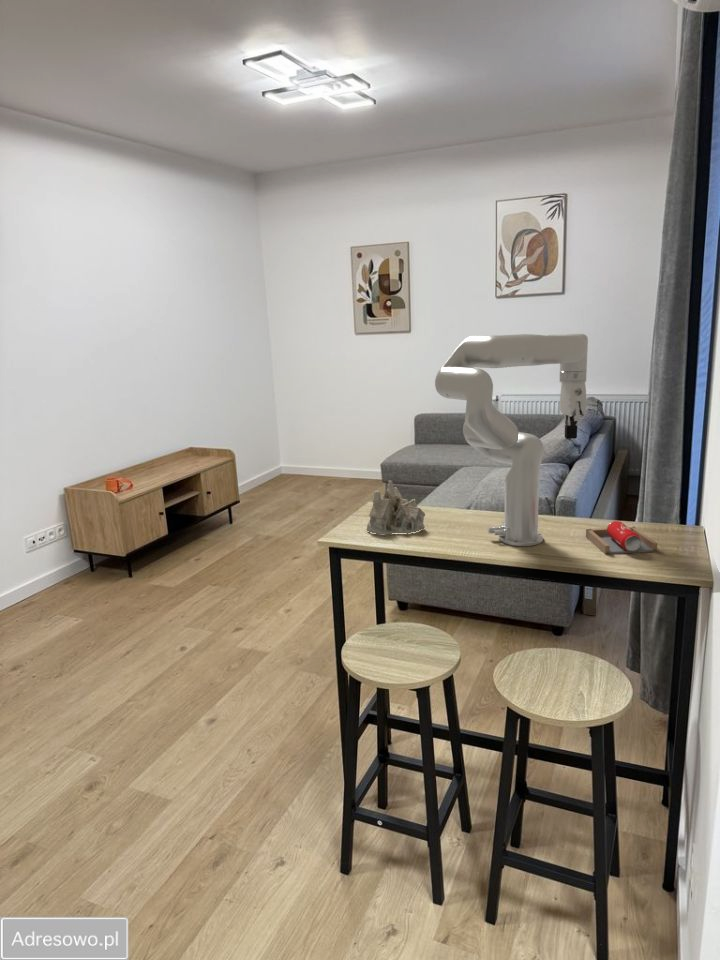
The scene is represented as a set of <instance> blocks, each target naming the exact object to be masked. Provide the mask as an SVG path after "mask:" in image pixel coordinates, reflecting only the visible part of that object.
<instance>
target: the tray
mask: <svg viewBox="0 0 720 960" xmlns="http://www.w3.org/2000/svg"><path fill="white" fill-rule="evenodd" d="M627 527H628V528H630V529H631V530H632V531H633V532H635V533H636V534H637V535H638V536H639V537H640V539H641V546H640V547H639V549H637V550H636V551H627V550H625V549H624V548H623V547H621V546H620V545H619V544H618V543H617V542H616V541H615V540H613V539H612V538H611V537H610V536H609V535H608V533H607V527H605V528H603V527H602V528H587V529H585V538H586V539H587V540H588V541H590V542H591V544H593V545H594V546H595V548H596V547H597V549H598V550H599V551H601V552H602V553H603V554H604V555H616V554H617V555H618V554H619V555H620V554H634V553H636V554H637V553H649V552H650V553H651V552H652V553H653V552H657V549H658V543H657V542H656V541H655V540H654V539H652V538H651V537H650V536H648V535H647V534H645V533H644V532H643V531H641V530H640V529H638V528H637V527H635V526H627Z"/></svg>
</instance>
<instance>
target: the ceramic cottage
mask: <svg viewBox="0 0 720 960" xmlns="http://www.w3.org/2000/svg"><path fill="white" fill-rule="evenodd" d="M387 482H388V483H387V485H386V486H387V487H386V488H387V489H385V490H386V491H385V492H384V494H383V496H381V495H382V494H381V492H380V490H375V491H374V492H373V493H374V494H373V499H372V506H371V510H370V513H369V514H368V516H369V522H368V523H367V525H366V530H367V531H369V532H372V533H376V534H392V533H411V532H416V531H419V530H421V529H424V528H425V524H424V519H425V516H426V512H424V511H423V510H422V509H421V507H418V505H417V503H416V502H417V501H416V498H412V499H411V500H410V501H409V499H406V498H403V496H402V494H401V492H400V491H399V488H398V487H397V486H395V487H394V483H393V480H388V481H387ZM425 529H426V528H425ZM367 531H366V532H367Z"/></svg>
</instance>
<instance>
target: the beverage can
mask: <svg viewBox="0 0 720 960" xmlns="http://www.w3.org/2000/svg"><path fill="white" fill-rule="evenodd" d="M628 527H629V526H627V525H626V524H625V523H623V522H622V521H619V520H614V521H611V522H609V524H608V525H607V527H606V528H607V533H608V535H609V536H610V537H611V538H612V539H613V540H615V541H616V542H617V543H618V544H619V545H620V546H621V547H623V548H624V549H625V550H627V551H636V550H637V549H639V547H640V546H641V539H640V537H639V536H638V535H637V534H636V533H635V532H633V531H632V530H631V529H630V528H628Z"/></svg>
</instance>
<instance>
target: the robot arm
mask: <svg viewBox="0 0 720 960" xmlns="http://www.w3.org/2000/svg"><path fill="white" fill-rule="evenodd" d="M588 344H589V339H588V336H587V334H584V333H568V334H548V335H546V334H545V335H543V334H531V333H529V334H528V333H527V334H526V333H523V334H521V333H520V334H502V335H500V334H498V335H495V334H493V335H469V336H468V337H466V338H465V339H464V340H462V342H460V343H459V345H458V346H457V347H456V348H455V349H454V351H452V353H451V354H450V356H449V357H447V359H446V360H445V362H444V363H443V364H442V366H441V367H440V368H439V370H438V371H437V373H436V376H435V379H434V387H435V391H436V392H437V393H438V395H440V396H441V397H443V398H446V399H451V400H460V401H466V406H465V414H464V423H463V426H462V434H463V438H464V440H465V441H466V442H467V444H468V445H470V446H471V447H472V448H474V450H476V451H478V452H479V453H480V454H482V455H483V456H485V457H486V458H487V459H489V460H491V461H494V462H498V463H500V464H501V463H502V464H506V465H511V467H510V469H509V471H508V473H506V476H505V478H504V516H503V517H504V519H503V520H504V521H503V522H501V525H498V526H488V527H487V533H488V534H494V536H498V539H499V540H500V541H501V542H502V543H504V544H506V545H509V546H516V547H531V546H536V545H539V544H541V543H542V542H543V541H544V536H543V534H542V533H541V532H539V498H540V496H539V495H540V493H539V492H540V491H539V490H540V470H541V465H542V460H543V458H544V457H543V456H544V443H543V442H542V440H541V439H540V438H539V437H538V436H536V435H535V434H532V433H527V432H521V431H519V429H518V426H517V425H516V424H515V422H513V421H512V420H511V419H510V418H508V417H507V416H506V415H505V414H503V413H502V412H501V411H500V410H499V409H497V408H496V407H495V406H494V405H493V404H494V403H493V394H494V393H493V391H494V383H493V379H492V377H491V376H490V374H489V373H488V372H487V370H484V368H485V369H502V368H503V369H504V368H513V367H514V368H515V367H534V366H544V365H558V364H559V381H558V382H559V383H561V385H560V396H559V411H560V413H561V414H563V417H564V438H565V439H567V440H570V439H577V438H578V425H579V422H580V420H581V416H582V417H585V416H586V415H587V389H586V382H587V373H588V372H587V369H588ZM500 541H499V542H500Z"/></svg>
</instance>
